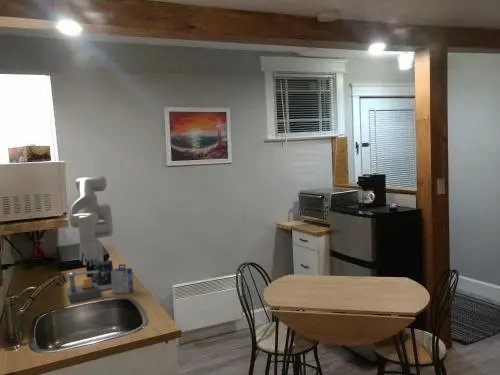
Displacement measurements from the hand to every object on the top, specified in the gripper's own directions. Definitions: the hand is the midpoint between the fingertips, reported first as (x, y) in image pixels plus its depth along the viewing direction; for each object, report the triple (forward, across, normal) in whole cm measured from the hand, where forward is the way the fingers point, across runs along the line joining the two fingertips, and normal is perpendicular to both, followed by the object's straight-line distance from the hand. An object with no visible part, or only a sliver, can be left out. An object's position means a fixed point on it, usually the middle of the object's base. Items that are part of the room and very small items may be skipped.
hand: (90, 272), depth 234 cm
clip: (0, +4, -2) cm, 5 cm away
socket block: (+11, +4, -3) cm, 12 cm away
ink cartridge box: (+12, -4, +16) cm, 20 cm away
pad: (+12, -10, +2) cm, 15 cm away
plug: (+11, +2, -1) cm, 12 cm away
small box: (+12, -17, -6) cm, 22 cm away
